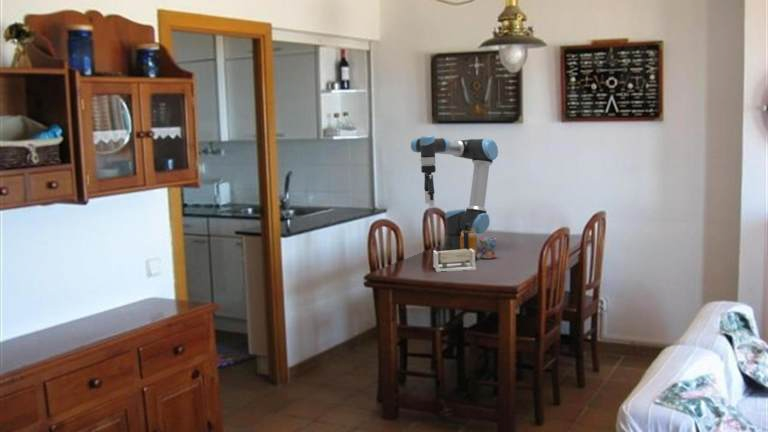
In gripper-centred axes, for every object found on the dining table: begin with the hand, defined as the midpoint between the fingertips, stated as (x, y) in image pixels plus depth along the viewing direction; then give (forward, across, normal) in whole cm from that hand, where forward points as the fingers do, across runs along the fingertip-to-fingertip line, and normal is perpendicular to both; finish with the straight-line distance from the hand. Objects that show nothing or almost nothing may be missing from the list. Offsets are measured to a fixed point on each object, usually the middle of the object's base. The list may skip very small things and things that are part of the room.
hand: (429, 204), depth 424 cm
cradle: (+31, +21, +8) cm, 38 cm away
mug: (+31, -4, +32) cm, 45 cm away
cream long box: (+27, +21, +8) cm, 35 cm away
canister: (+31, 0, +20) cm, 37 cm away
